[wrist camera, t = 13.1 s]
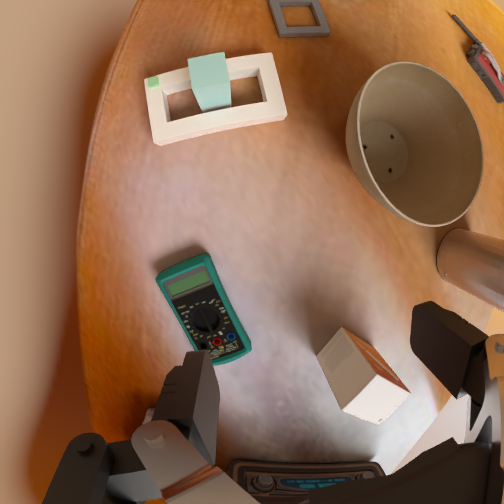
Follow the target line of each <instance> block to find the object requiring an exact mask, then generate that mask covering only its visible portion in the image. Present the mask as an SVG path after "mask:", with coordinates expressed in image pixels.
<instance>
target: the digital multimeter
mask: <svg viewBox="0 0 504 504" xmlns="http://www.w3.org/2000/svg"><path fill="white" fill-rule="evenodd" d="M156 282H157V284H158V286H159V287H160V289H161V291H162V293H163V294H164V296H165V298H166V299H167V301H168V303H169V305H170V306H171V308H172V310H173V312H174V313H175V315H176V317H177V319H178V320H179V322H180V324H181V326H182V327H183V329H184V331H185V333H186V335H187V337H188V339H189V341H190V342H191V344H192V346H193V348H194V350H195V351H199V350H208V352H209V355H210V358H211V362H212V365H220V364H225V363H228V362H231V361H234V360H236V359H238V358H240V357H242V356H243V355H245V354H247V353H248V352H250V351H251V350H252V348H251V341H250V339H249V337H248V336H247V334H246V332H245V330H244V328H243V327H242V325H241V323H240V321H239V319H238V317H237V315H236V313H235V311H234V309H233V308H232V306H231V303H230V301H229V299H228V297H227V295H226V292H225V290H224V288H223V286H222V284H221V281H220V279H219V276H218V274H217V271H216V269H215V266H214V264H213V261H212V259H211V256H210V255H209V254H207V253H205V254H202V255H199V256H195V257H193V258H190V259H187V260H185V261H182V262H180V263H178V264H176V265H174V266H172V267H170V268H168V269H166V270H164V271H162V272H161V273H159V275H158V276H157V277H156ZM241 340H242V341H241ZM242 342H243V343H242ZM243 344H244V345H243Z"/></svg>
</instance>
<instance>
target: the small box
mask: <svg viewBox="0 0 504 504" xmlns="http://www.w3.org/2000/svg"><path fill="white" fill-rule="evenodd" d="M316 357H317V359H318V361H319V363H320V366H321V368H322V370H323V372H324V374H325V376H326V378H327V381H328V383H329V385H330V387H331V389H332V391H333V393H334V395H335V398H336V400H337V402H338V404H339V406H340V408H341V410H342V411H344V412H346V413H348V414H351V415H353V416H355V417H357V418H359V419H362V420H365V421H368V422H371V423H374V424H377V425H379V424H381V423H382V422H383V421H384V420H385V419H386V418H387V417H388V416H389V415H390V414H391V413H393V412H394V411H395V410H396V409H397V408H398V407H399V405H400V404H401V403H402V402H403V401H404V400H405V399H406V398H407V397H408V396H409V395H410V394H411V392H410V391H409V390H408V389H407V388H406V386H405V385H404V384H403V383H402V381H401V380H400V379H399V378H398V376H397V375H396V374H395V373H394V371H393V370H392V369H391V368H390V366H389V365H388V364H387V363H386V362H385V360H384V359H383V358H382V356H381V355H380V354H379V353H378V352H377V350H376V349H375V348H374V347H373V346H371V345H369V344H368V343H366V342H364V341H363V340H361V339H360V338H358V337H357V336H355V335H354V334H352V333H351V332H349V331H348V330H347V329H345V328H344V327H341V328H340V329H339V330H338V331H337V332H336V334H335V335H334V336H333V337H332V338H331V340H330V341H329V342H328V343H327V344H326V345H325V346H324V348H323V349H322V350H321V351H320V352H319V353H318V354H317V356H316Z"/></svg>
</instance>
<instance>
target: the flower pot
mask: <svg viewBox="0 0 504 504" xmlns="http://www.w3.org/2000/svg"><path fill="white" fill-rule="evenodd" d="M391 135H392V136H393V139H391ZM363 146H366V149H364V148H363ZM346 149H347V154H348V158H349V161H350V164H351V167H352V169H353V171H354V173H355V175H356V177H357V178H358V180H359V182H360V183H361V184H362V186H363V187H364V188H365V190H366V191H367V192H368V193H369V194H370V195H371V196H372V197H373V198H374V199H375V200H376V201H377V202H378V203H379V204H381V205H382V206H383V207H385V208H386V209H387V210H389V211H390V212H392V213H394V214H395V215H397V216H399V217H401V218H403V219H405V220H408V221H410V222H413V223H415V224H419V225H422V226H428V227H439V226H444V225H447V224H450V223H452V222H454V221H456V220H457V219H459V218H460V217H461V216H463V215H464V214H465V213H466V212H467V210H468V209H469V208H470V206H471V205H472V203H473V202H474V200H475V198H476V196H477V194H478V191H479V188H480V185H481V181H482V176H483V165H484V155H483V145H482V140H481V135H480V131H479V128H478V125H477V122H476V120H475V117H474V115H473V113H472V111H471V109H470V107H469V105H468V104H467V102H466V100H465V99H464V97H463V96H462V95H461V93H460V92H459V91H458V90H457V88H456V87H455V86H454V85H453V84H452V83H451V82H450V81H449V80H448V79H446V78H445V77H444V76H443V75H441V74H440V73H438V72H437V71H435V70H433V69H431V68H429V67H427V66H425V65H422V64H419V63H416V62H408V61H399V62H394V63H390V64H387V65H385V66H383V67H381V68H380V69H378V70H377V71H376V72H375V73H373V74H372V75H371V76H370V77H369V78H368V79H367V80H366V82H365V83H364V84H363V86H362V87H361V88H360V90H359V91H358V93H357V95H356V97H355V99H354V101H353V103H352V106H351V108H350V111H349V114H348V119H347V124H346ZM389 169H391V173H390V172H389Z"/></svg>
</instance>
